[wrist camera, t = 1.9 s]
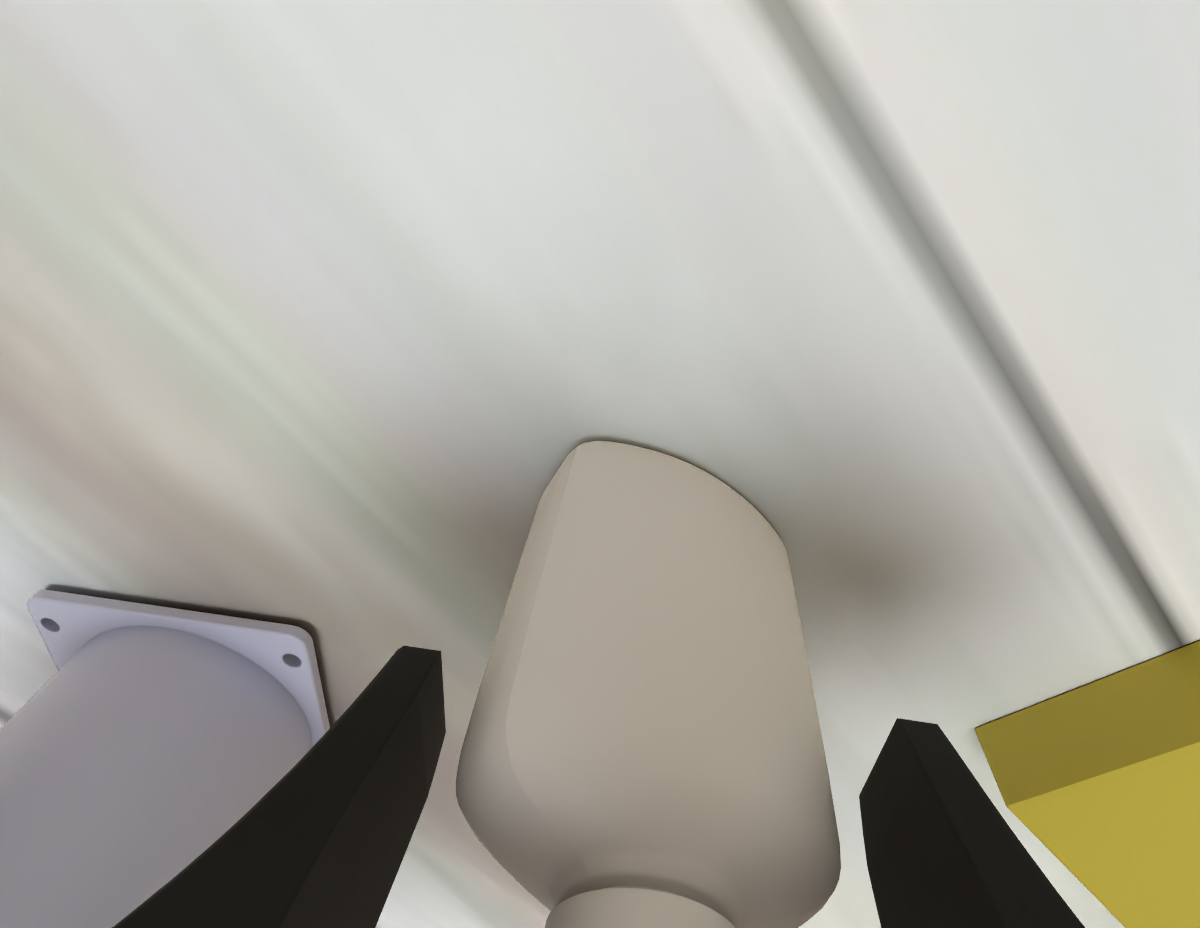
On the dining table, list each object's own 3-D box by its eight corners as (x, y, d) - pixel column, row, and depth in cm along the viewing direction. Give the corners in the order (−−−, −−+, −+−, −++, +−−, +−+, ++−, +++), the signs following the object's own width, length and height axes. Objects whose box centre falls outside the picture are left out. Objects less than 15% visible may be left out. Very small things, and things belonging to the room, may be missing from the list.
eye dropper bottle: (643, 629, 18) (581, 1424, 8) (518, 466, 15) (193, 1284, 5) (805, 571, 16) (1000, 1476, 6) (691, 379, 14) (697, 1307, 4)
